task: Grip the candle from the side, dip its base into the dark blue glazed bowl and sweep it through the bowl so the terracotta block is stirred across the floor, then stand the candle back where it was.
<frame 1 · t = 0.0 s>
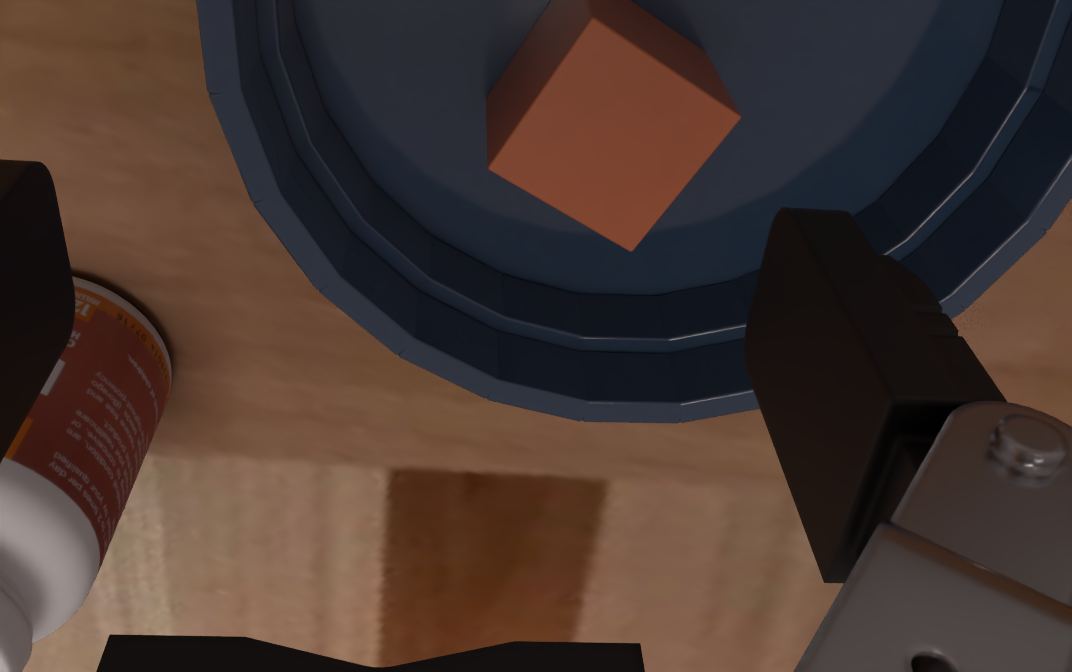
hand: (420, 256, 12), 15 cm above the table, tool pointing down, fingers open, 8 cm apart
pill bottle: (70, 350, 30), on the table
block: (595, 76, 25), point 1 cm above the table, touching bowl
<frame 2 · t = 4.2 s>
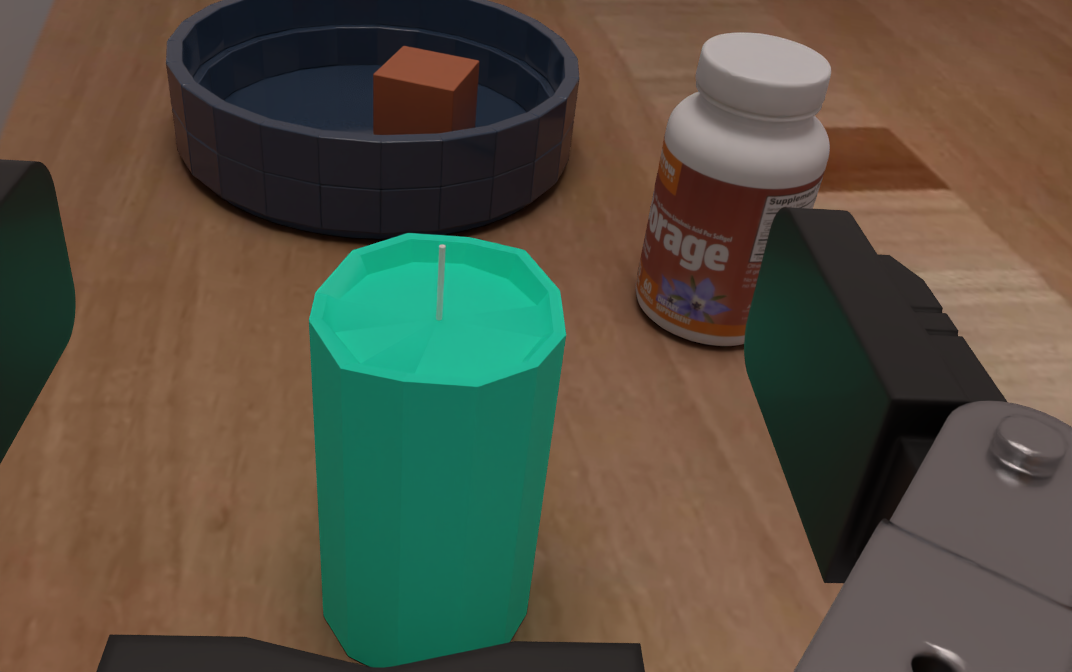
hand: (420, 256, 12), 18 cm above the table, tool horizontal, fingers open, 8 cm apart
pill bottle: (705, 310, 43), on the table
block: (425, 142, 51), point 1 cm above the table, touching bowl
candle: (426, 597, 30), on the table
bowl: (378, 143, 52), on the table
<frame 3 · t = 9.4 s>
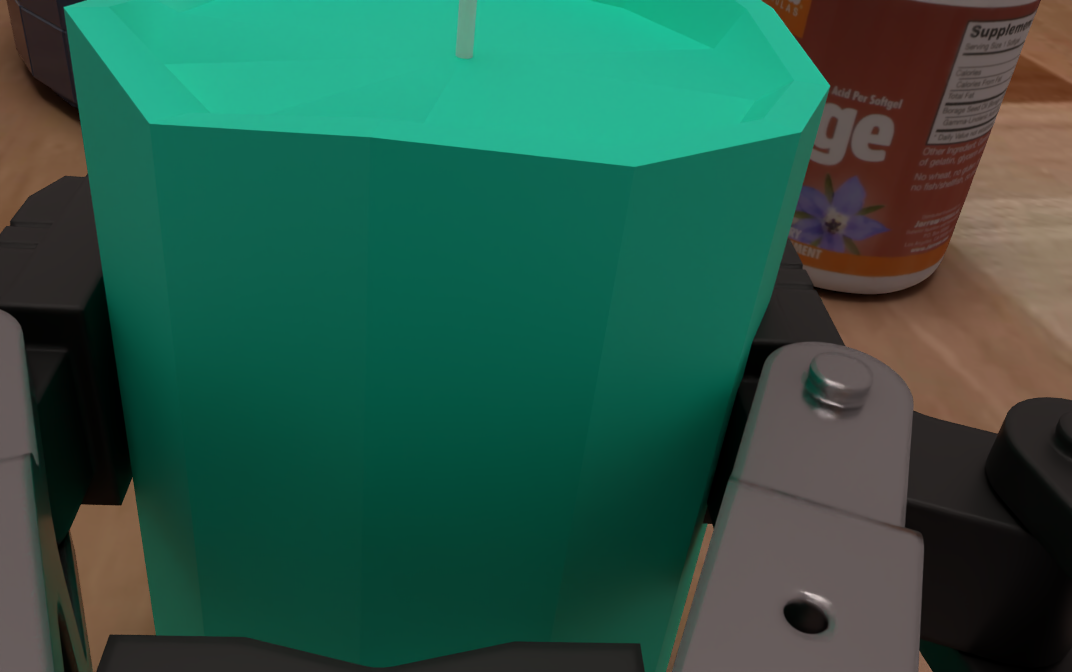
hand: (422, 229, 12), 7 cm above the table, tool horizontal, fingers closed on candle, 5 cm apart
pill bottle: (823, 248, 28), on the table
bowl: (318, 49, 37), on the table
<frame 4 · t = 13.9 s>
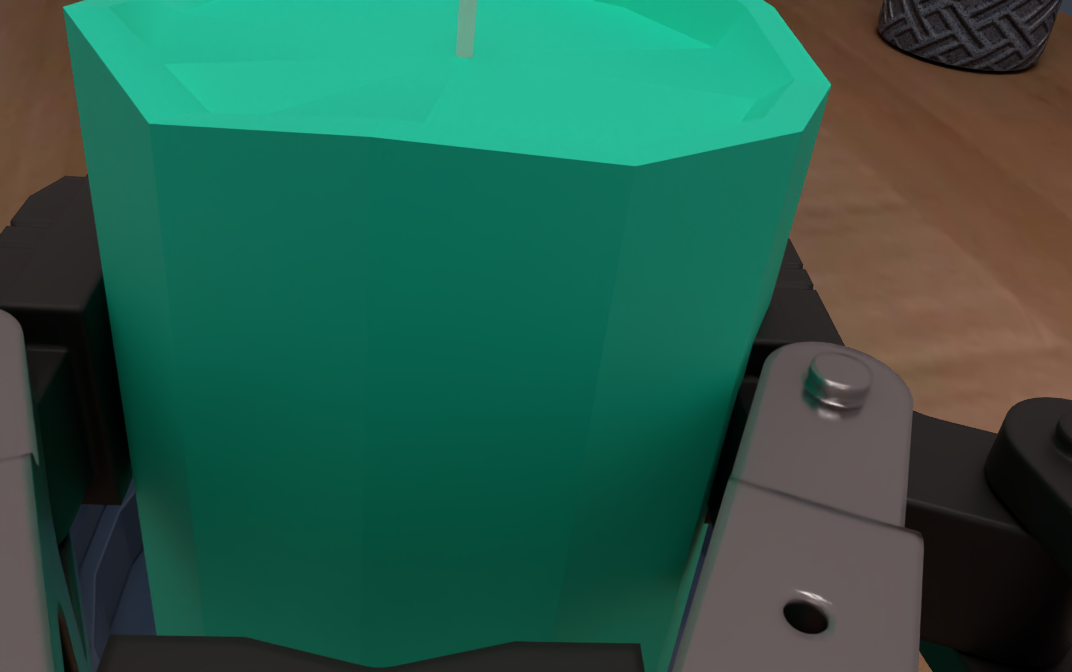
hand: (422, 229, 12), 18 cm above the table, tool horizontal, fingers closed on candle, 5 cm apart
vase: (954, 48, 78), on the table
bowl: (430, 615, 29), on the table
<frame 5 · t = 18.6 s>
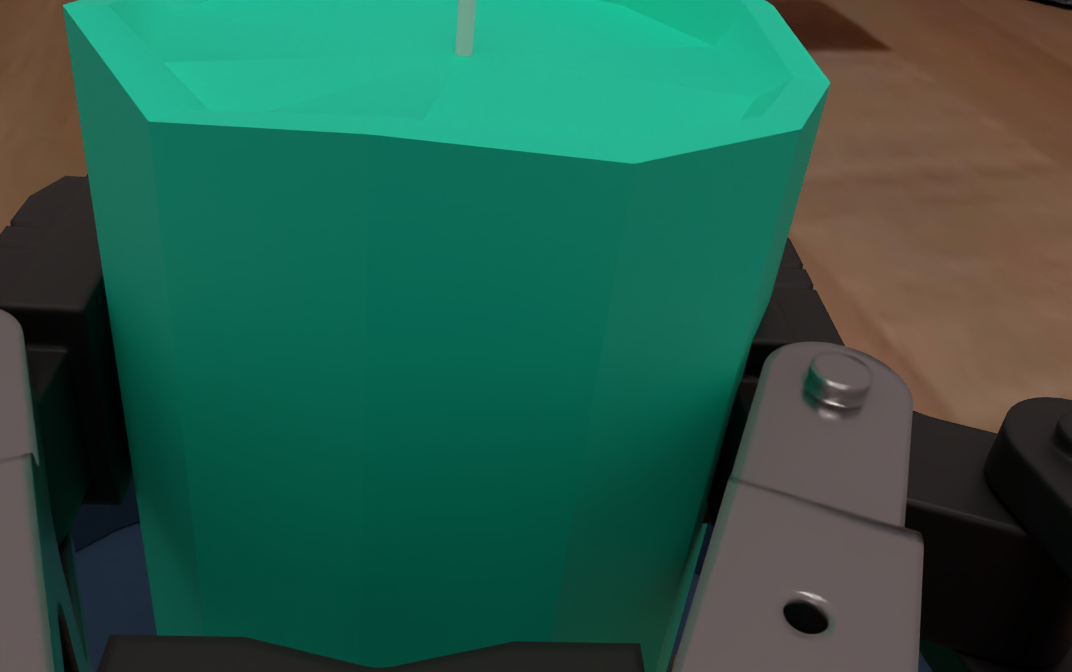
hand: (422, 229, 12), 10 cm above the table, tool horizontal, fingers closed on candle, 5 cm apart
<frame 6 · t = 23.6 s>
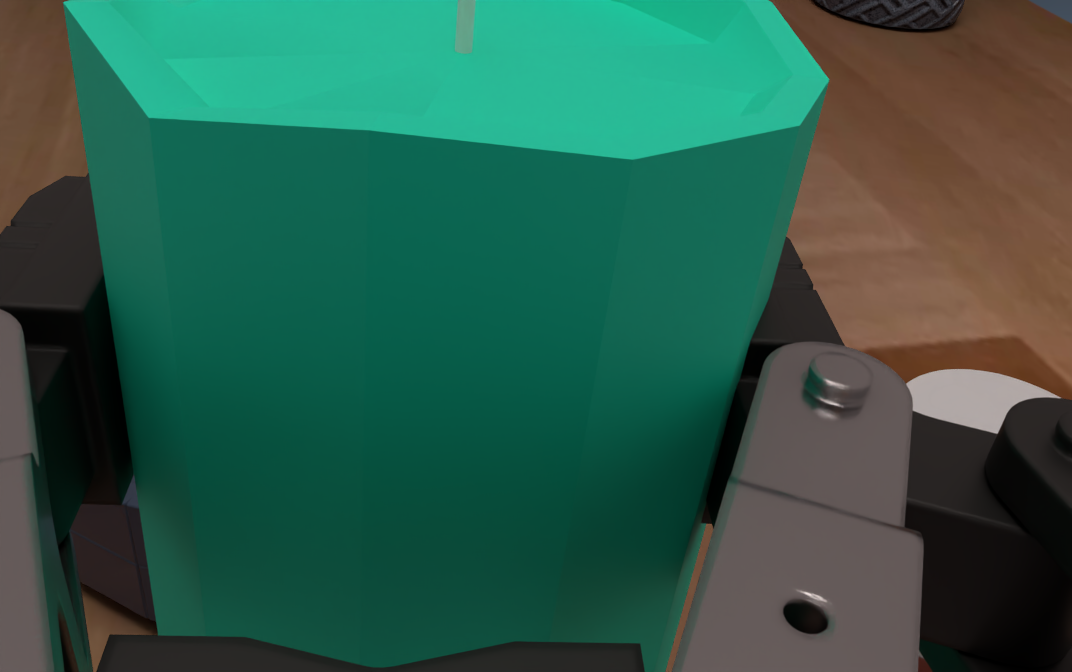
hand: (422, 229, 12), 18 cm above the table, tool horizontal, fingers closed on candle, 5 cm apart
vase: (880, 9, 84), on the table
bowl: (328, 425, 36), on the table
when the fingers open (7 cm above the table, at t = 28.1 s): candle stays where it is, on the table.
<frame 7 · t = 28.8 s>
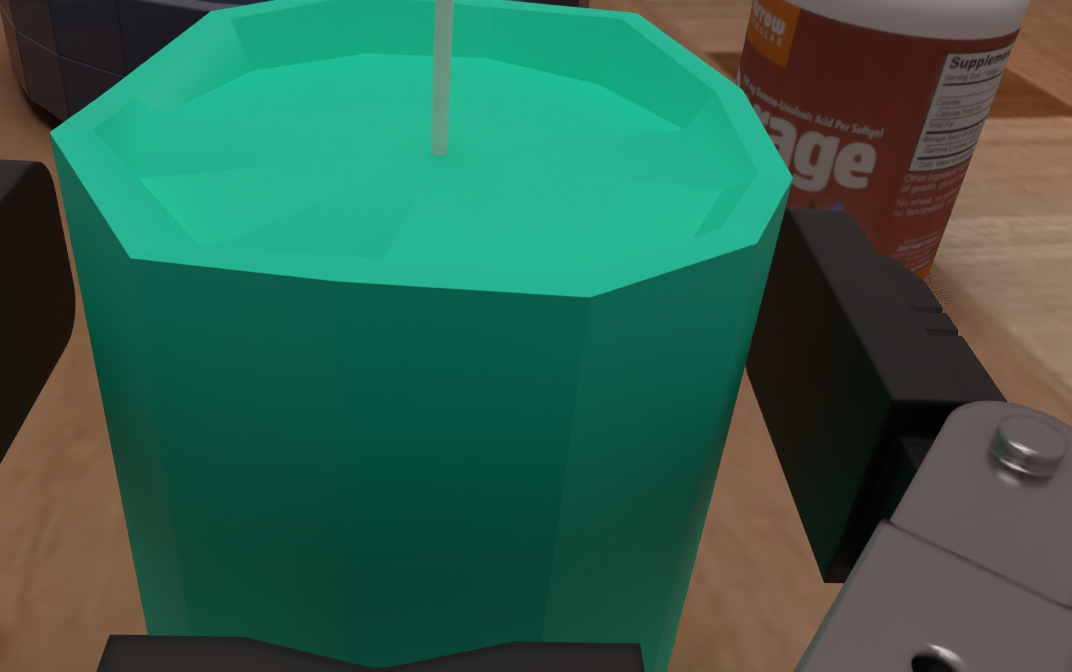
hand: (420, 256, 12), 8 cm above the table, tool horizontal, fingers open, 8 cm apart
pill bottle: (809, 268, 29), on the table
bowl: (311, 67, 37), on the table
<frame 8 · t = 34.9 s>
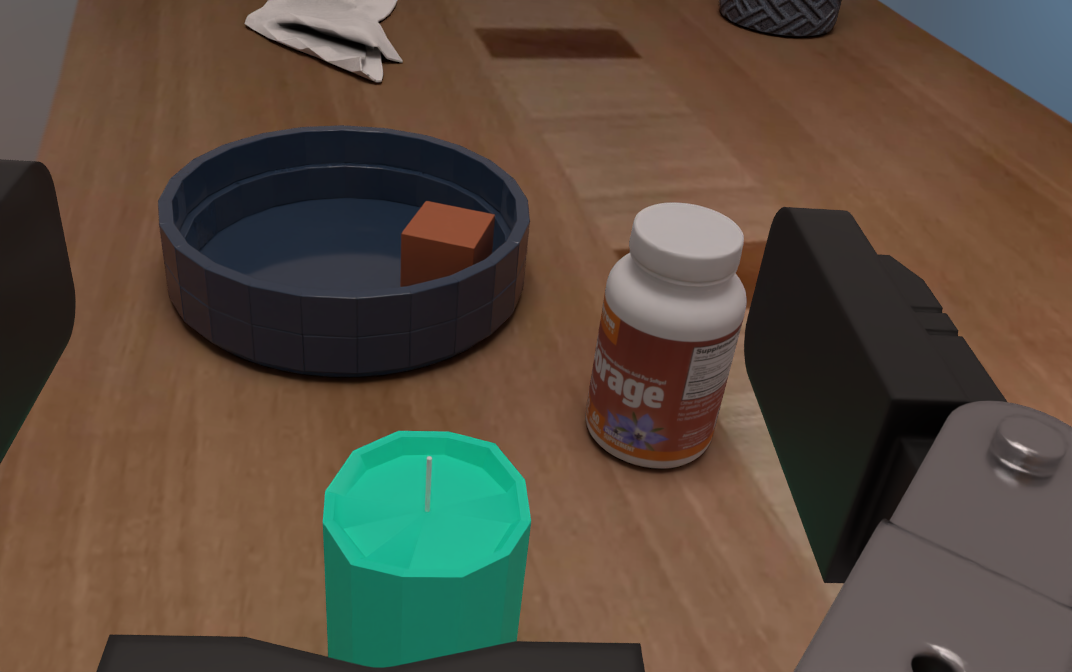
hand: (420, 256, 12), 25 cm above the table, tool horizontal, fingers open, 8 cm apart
cloth: (325, 30, 91), on the table
pill bottle: (647, 433, 49), on the table
vase: (774, 21, 106), on the table
block: (446, 286, 57), point 1 cm above the table, touching bowl
bowl: (350, 278, 57), on the table
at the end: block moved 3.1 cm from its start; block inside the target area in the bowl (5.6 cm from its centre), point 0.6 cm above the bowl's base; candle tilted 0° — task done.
